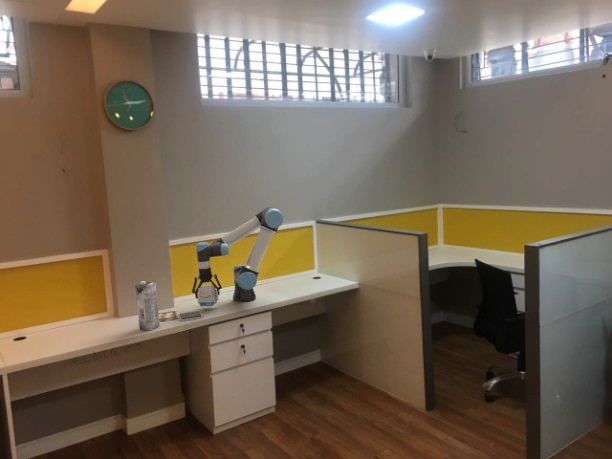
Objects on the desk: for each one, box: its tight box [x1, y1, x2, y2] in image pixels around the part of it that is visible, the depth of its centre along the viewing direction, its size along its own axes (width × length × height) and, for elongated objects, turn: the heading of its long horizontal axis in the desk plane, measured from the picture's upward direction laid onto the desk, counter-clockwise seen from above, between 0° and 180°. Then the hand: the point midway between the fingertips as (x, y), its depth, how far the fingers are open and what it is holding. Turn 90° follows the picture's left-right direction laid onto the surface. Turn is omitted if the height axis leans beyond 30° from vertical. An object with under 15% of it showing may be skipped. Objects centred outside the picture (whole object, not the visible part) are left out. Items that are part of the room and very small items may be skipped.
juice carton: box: [134, 280, 160, 332], centre depth 300 cm, size 9×10×27 cm
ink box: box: [198, 284, 218, 307], centre depth 333 cm, size 9×8×12 cm
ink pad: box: [177, 310, 203, 322], centre depth 320 cm, size 13×12×1 cm
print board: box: [158, 310, 180, 323], centre depth 321 cm, size 16×15×1 cm
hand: (208, 301), depth 334 cm, fingers closed on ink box, 11 cm apart
